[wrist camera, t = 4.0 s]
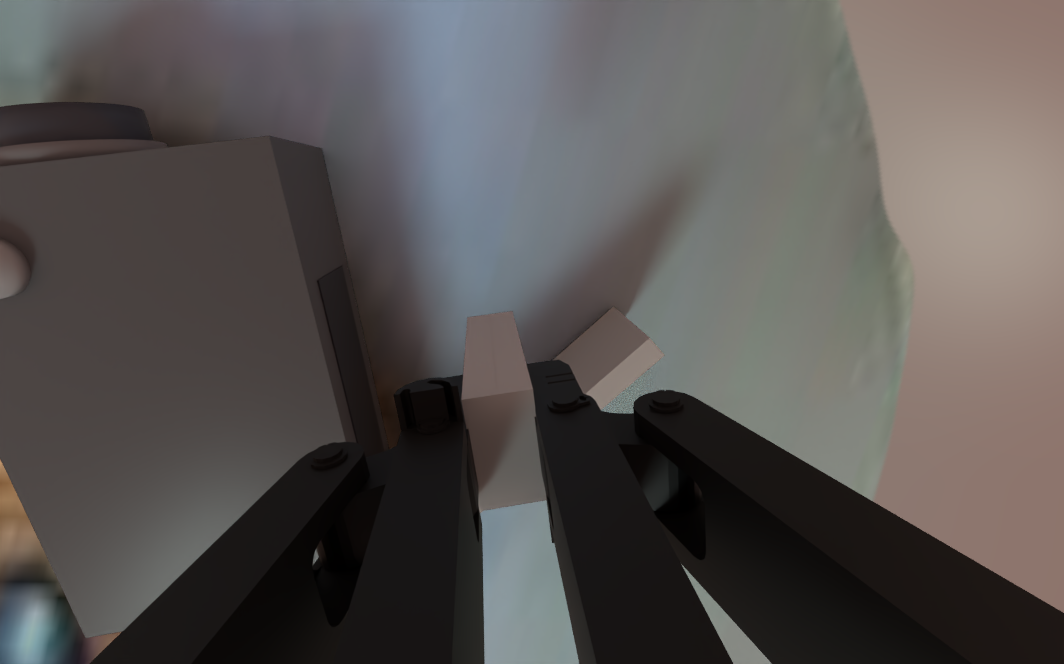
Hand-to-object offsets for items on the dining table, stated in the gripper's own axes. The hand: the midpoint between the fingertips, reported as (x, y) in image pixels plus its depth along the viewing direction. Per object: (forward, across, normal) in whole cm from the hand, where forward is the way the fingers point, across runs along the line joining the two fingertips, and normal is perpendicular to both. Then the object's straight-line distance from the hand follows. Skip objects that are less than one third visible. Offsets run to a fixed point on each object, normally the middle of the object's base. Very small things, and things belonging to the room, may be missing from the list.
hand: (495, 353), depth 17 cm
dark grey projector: (+8, +12, +1) cm, 15 cm away
